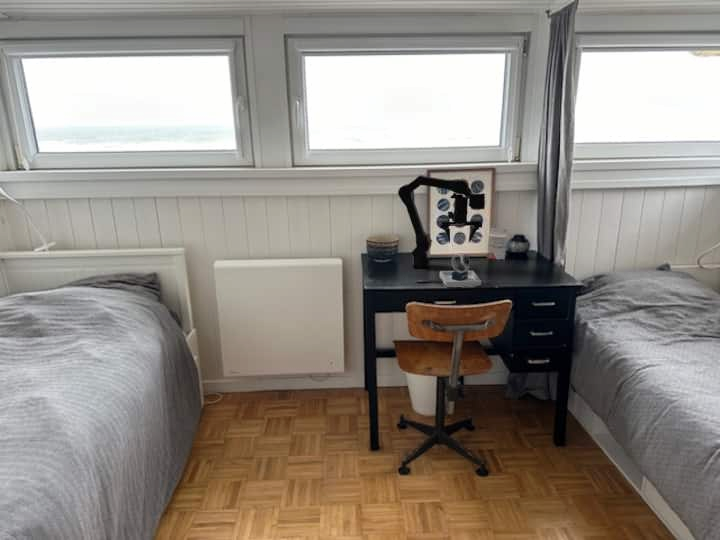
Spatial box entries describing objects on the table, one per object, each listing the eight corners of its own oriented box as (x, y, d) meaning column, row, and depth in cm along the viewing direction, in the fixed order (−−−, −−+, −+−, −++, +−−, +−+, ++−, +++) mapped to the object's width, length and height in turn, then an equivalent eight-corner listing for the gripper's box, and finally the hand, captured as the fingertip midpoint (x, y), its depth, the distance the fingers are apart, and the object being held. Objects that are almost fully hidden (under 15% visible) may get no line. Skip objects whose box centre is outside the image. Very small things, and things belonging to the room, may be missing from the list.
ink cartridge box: (486, 258, 243) (488, 229, 238) (487, 256, 247) (489, 227, 243) (504, 260, 240) (506, 230, 236) (505, 257, 244) (507, 228, 240)
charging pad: (418, 288, 202) (418, 282, 202) (413, 277, 216) (413, 271, 215) (481, 287, 203) (481, 281, 202) (472, 276, 217) (472, 270, 216)
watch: (464, 282, 205) (465, 257, 201) (448, 278, 210) (449, 253, 207) (471, 279, 209) (473, 254, 205) (455, 275, 214) (456, 251, 211)
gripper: (477, 204, 225) (475, 237, 230) (436, 205, 225) (435, 238, 230) (483, 209, 215) (481, 243, 219) (441, 210, 214) (440, 244, 219)
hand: (459, 242), depth 222 cm, fingers open, 9 cm apart
